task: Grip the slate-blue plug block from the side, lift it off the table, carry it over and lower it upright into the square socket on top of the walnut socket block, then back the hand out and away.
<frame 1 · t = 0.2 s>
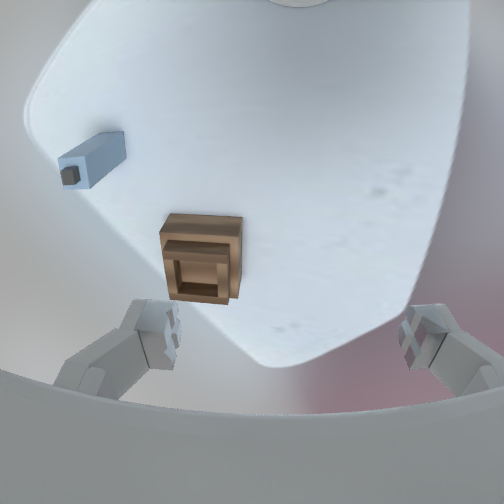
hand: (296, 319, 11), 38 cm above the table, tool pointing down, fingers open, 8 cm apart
plug block: (112, 145, 46), on the table
socket block: (207, 246, 56), on the table
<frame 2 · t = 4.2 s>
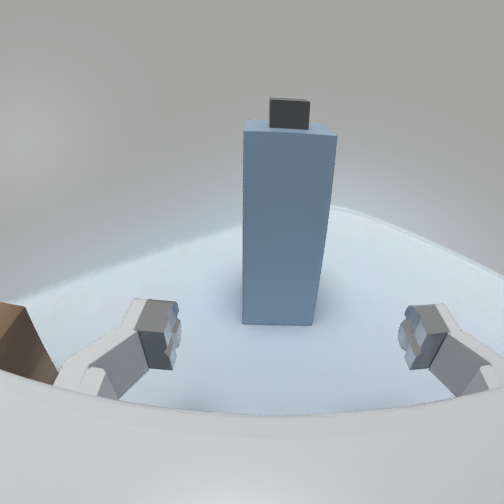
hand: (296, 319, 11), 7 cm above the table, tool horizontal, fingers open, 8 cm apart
plug block: (276, 303, 23), on the table
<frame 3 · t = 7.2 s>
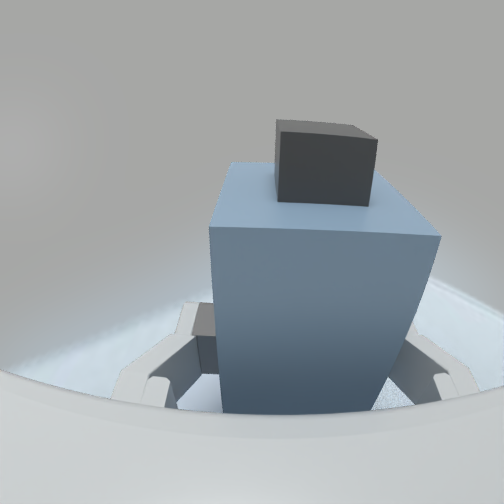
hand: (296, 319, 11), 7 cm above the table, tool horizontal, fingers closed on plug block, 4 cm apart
plug block: (280, 437, 14), on the table, touching gripper
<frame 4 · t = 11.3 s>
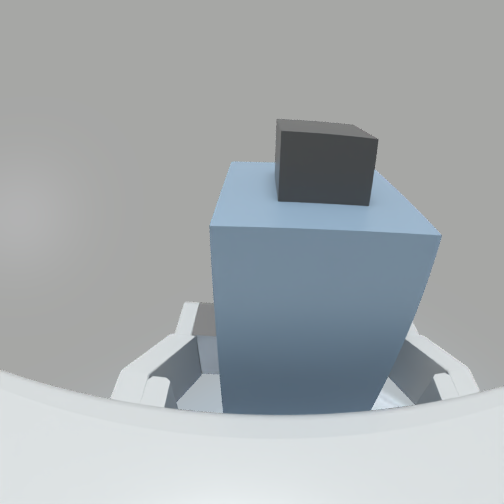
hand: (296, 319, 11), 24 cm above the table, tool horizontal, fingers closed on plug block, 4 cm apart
plug block: (280, 437, 14), point 17 cm above the table, touching gripper
when the fingers open (14 cm above the table, at t = 15.8 s): plug block drops 1 cm, resting on socket block.
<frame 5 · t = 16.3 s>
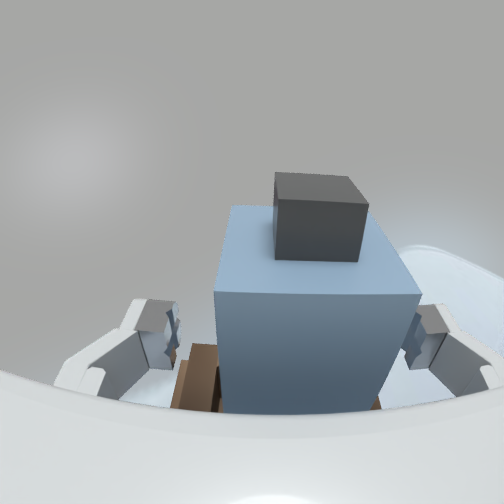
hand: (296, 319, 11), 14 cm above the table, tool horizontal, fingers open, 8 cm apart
plug block: (277, 448, 14), point 6 cm above the table, touching socket block
socket block: (270, 482, 17), on the table
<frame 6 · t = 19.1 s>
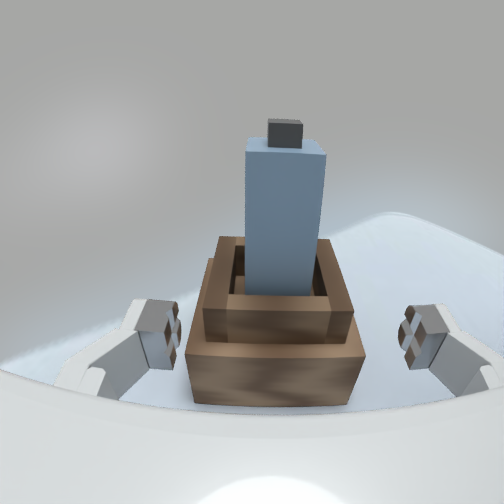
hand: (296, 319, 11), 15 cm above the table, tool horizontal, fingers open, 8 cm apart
plug block: (274, 299, 25), point 6 cm above the table, touching socket block
socket block: (270, 351, 28), on the table
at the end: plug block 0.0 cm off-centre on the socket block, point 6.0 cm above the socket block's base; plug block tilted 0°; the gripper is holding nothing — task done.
